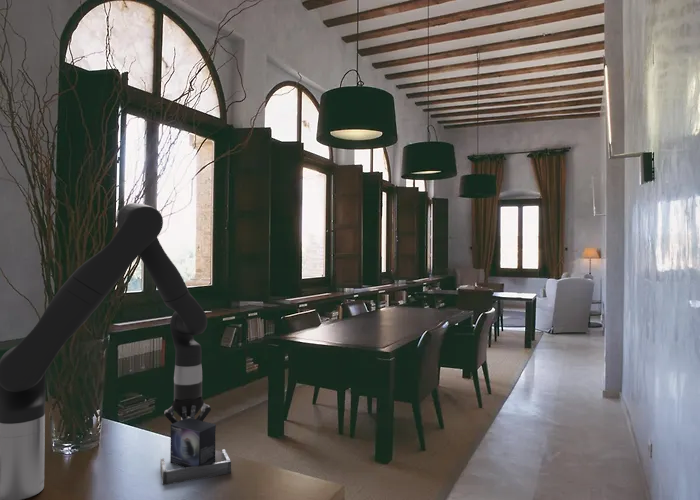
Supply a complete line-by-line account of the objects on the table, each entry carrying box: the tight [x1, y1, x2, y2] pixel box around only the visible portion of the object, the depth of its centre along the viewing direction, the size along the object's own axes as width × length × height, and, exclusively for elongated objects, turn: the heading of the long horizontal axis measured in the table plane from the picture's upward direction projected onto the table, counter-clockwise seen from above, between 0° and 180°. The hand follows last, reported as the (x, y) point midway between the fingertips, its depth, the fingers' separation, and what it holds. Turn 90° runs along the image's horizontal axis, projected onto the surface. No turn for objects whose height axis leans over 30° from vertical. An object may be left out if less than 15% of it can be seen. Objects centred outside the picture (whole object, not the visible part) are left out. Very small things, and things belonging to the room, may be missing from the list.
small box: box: [169, 417, 217, 468], centre depth 131 cm, size 11×6×10 cm, turn 62°
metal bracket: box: [159, 448, 232, 486], centre depth 126 cm, size 16×8×3 cm, turn 115°
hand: (187, 441), depth 141 cm, fingers closed
